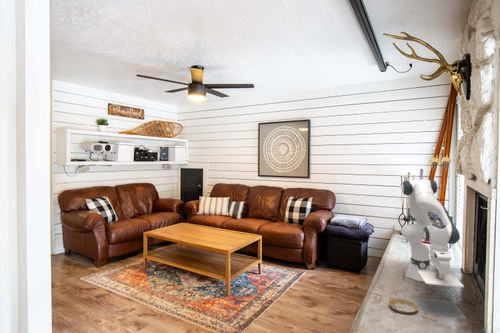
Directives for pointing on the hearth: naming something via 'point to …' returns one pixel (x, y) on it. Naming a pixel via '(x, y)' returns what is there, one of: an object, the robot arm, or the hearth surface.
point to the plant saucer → (402, 303)
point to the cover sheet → (439, 279)
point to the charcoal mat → (440, 308)
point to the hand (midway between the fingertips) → (439, 276)
